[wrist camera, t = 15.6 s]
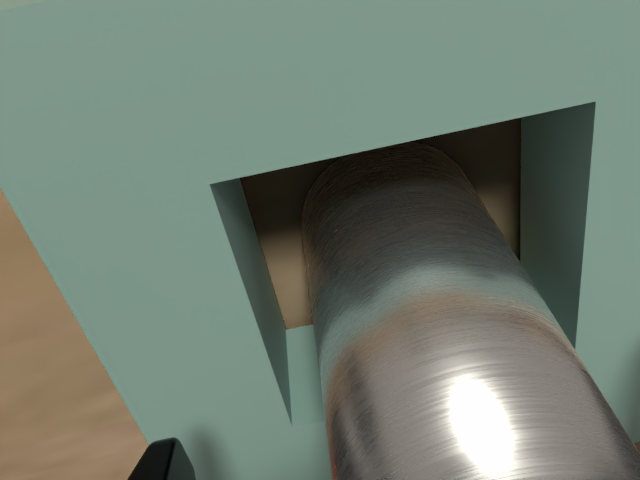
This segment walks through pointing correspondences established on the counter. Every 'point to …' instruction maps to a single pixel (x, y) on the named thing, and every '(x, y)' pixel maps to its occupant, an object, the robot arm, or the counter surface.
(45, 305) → the counter surface
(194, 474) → the robot arm
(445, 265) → the dowel
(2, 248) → the counter surface
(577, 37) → the socket block
